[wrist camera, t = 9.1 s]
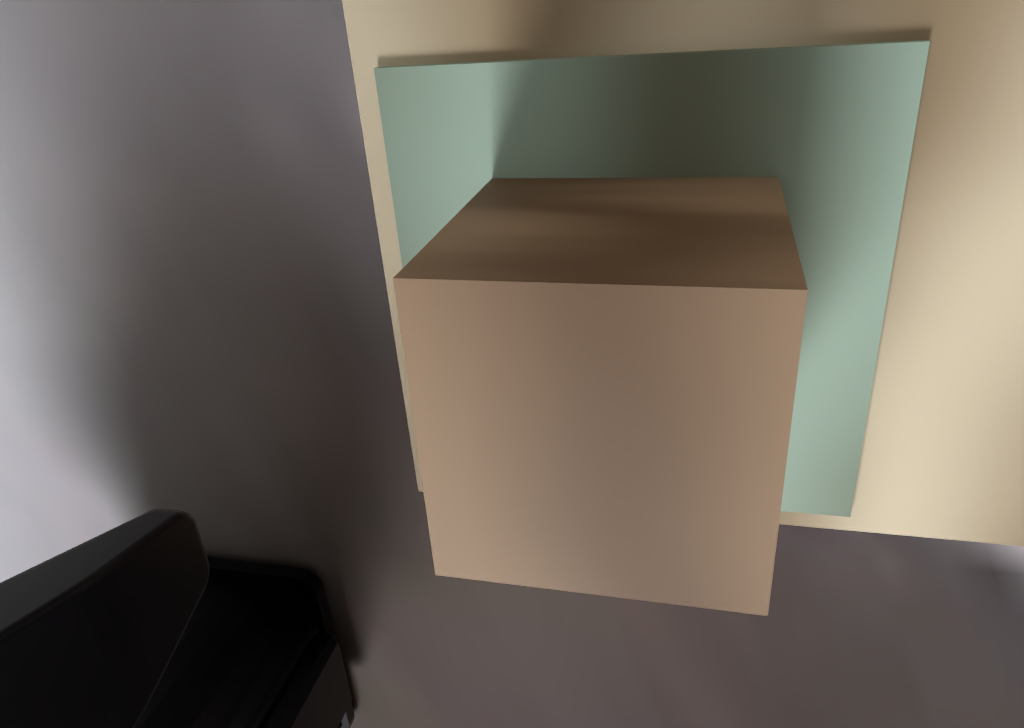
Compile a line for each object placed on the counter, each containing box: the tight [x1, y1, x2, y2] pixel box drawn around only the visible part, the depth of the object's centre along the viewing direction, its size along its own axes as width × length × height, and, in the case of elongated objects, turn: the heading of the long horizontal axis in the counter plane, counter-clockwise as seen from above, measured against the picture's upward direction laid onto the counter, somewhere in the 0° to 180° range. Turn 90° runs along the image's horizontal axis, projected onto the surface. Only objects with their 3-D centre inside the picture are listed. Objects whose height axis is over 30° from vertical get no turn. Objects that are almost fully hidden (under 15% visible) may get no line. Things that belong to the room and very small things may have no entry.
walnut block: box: [393, 177, 808, 616], centre depth 13 cm, size 5×5×5 cm
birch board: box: [342, 0, 1024, 546], centre depth 12 cm, size 18×20×1 cm
